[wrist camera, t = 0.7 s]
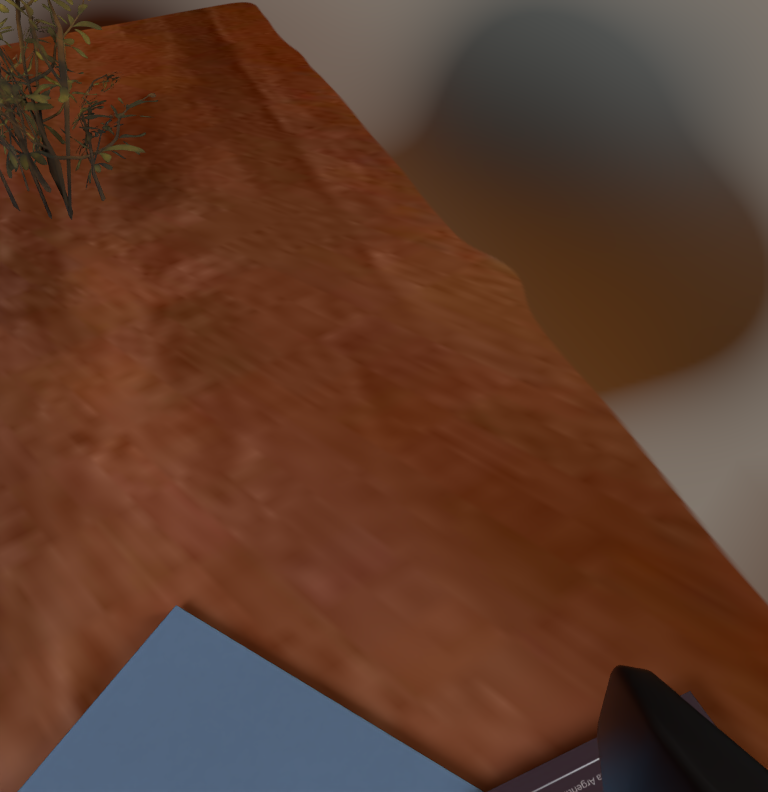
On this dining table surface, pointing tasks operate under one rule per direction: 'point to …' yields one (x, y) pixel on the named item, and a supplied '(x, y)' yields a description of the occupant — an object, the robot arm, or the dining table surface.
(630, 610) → the dining table surface
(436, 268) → the dining table surface
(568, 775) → the chocolate bar
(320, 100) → the dining table surface
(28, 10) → the dried plant
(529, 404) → the dining table surface
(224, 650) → the placemat
